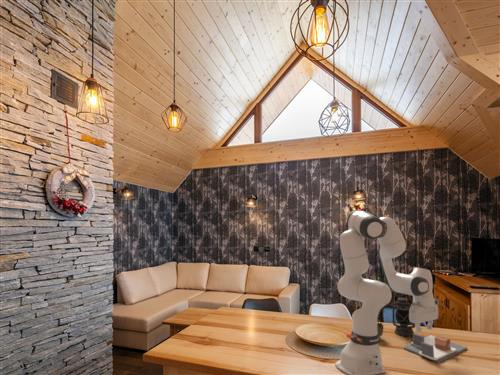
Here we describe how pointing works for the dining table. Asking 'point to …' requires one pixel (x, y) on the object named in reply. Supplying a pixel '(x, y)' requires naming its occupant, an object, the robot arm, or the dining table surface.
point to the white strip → (434, 351)
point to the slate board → (459, 349)
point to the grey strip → (422, 340)
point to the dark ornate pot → (380, 329)
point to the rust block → (442, 343)
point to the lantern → (403, 318)
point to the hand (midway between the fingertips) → (424, 330)
